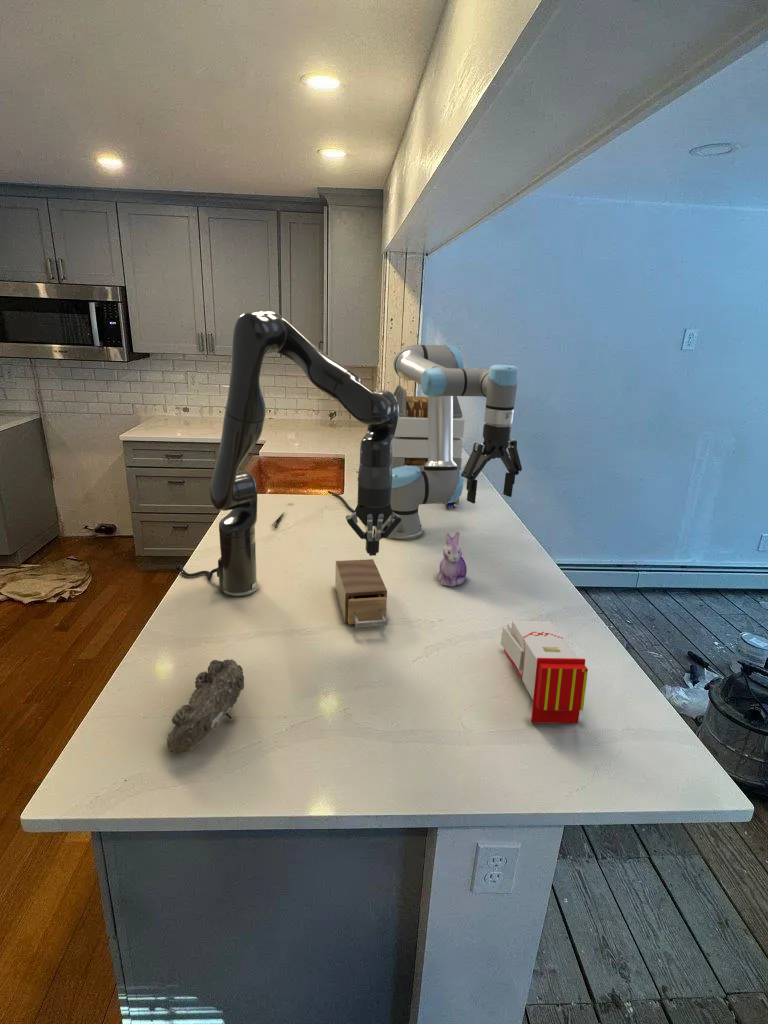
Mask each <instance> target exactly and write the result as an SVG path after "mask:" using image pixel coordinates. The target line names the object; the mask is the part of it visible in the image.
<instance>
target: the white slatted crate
mask: <svg viewBox="0 0 768 1024" xmlns="http://www.w3.org/2000/svg"><path fill="white" fill-rule="evenodd" d="M392 394H393V395H394V396H395V397H396V399H397V401H398V406H399V416H398V422H397V427H396V431H395V436H394V439H393V444H392V469H394V468H397V467H401V466H416V467H424V465H425V464H426V463H427V462H428V396H415V395H414V396H413V395H412V396H411V395H407V394H408V393H407V390H406V389H404V388H403V387H402V385H399V384H398V385H397V386H396V388H395V390H394V392H393V393H392ZM464 429H465V419H464V418H463V411H462V408H461V405H460V402H459V398H458V396H453V461H454V462H455V463H456V464H457V469H458V470H460V471H461V472H462V461H463V460H462V453H463V442H464V441H463V440H462V439H463V438H464V431H465V430H464Z"/></svg>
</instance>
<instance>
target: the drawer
mask: <svg viewBox="0 0 768 1024" xmlns="http://www.w3.org/2000/svg"><path fill="white" fill-rule="evenodd" d="M387 601H388V597H387V598H386V597H381V594H377V595H360V596H349V600H348V622H347V623H348V625H354V626H355V628H364V627H365V628H366V627H367V628H368V627H379V626H388V619H387V604H388V603H387Z"/></svg>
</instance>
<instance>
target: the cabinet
mask: <svg viewBox="0 0 768 1024" xmlns="http://www.w3.org/2000/svg"><path fill="white" fill-rule="evenodd" d="M334 582H335V583H334V585H335V587H334V589H335V592H336V595H337V600H338V603H339V607H340V611H341V614H342V617H343V621H344V624H345V623H346V624H347V623H348V600H349V596H360V595H377V594H381V597H386V598H387V599H388V589H387V587H386V585H385V582H384V580H383V578H382V576H381V574H380V571H379V569H378V566H377V565H376V563H375V561H374V559H372V558H371V559H370V558H369V559H350V560H336V561H335V581H334Z"/></svg>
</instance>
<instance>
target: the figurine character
mask: <svg viewBox="0 0 768 1024" xmlns="http://www.w3.org/2000/svg"><path fill="white" fill-rule="evenodd" d="M459 504H460V498H459V499H458V500H457V501H456V502H453V503H446V504H443V505H445V508H446V509H449V507H452V509H456V506H459Z"/></svg>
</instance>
